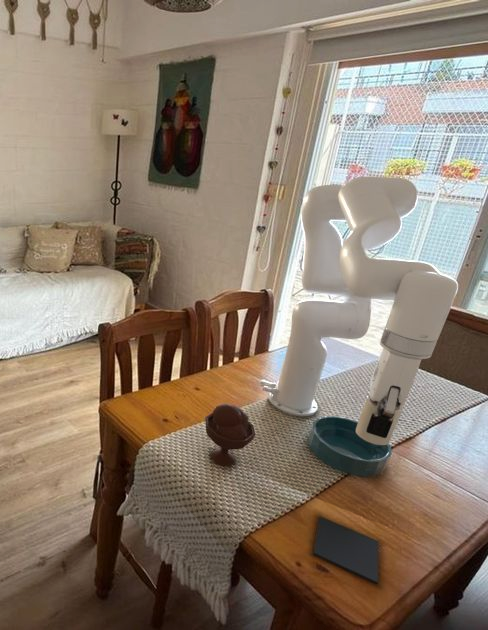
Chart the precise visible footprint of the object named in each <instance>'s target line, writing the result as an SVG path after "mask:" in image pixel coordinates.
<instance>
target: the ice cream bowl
mask: <svg viewBox="0 0 488 630" xmlns="http://www.w3.org/2000/svg"><path fill="white" fill-rule="evenodd" d="M204 420H205V432H206V435H207V437H208V438H209V439H210V440H211V441H212V442H213V443H214V444H215V445H216V446H217V447H219V448H215V449H213V451H211V453H210V458H211V460H212V461H213V462H214V463H215V464H216V465H218V466H221V467H232V466H233V465H234V464H236V462H235V461H236V460H235V456H234V455H233V453H231V451H232V450H233V451H234V450H235V451H237V450H241V449H244V448H245V447H246V446H248V445H249V444H250V443H251V442H252V441H253V440H254V439H255V437H256V430H255V426H254V424H253V423H252V422H250V421H249V415H248V414H247V413H246V412H245V411H244V410H243V409H241V408H240V407H239V406H236V405H233V404H229V403H221V404H219V405H217V406H216V407H215V408H214V409H213V411H212V412H211V413H210V414H208V415H206V416H205V418H204Z"/></svg>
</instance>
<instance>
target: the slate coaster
mask: <svg viewBox="0 0 488 630" xmlns="http://www.w3.org/2000/svg"><path fill="white" fill-rule="evenodd" d="M315 534H316V535H315V542H314V546H313V553H312V556H314V557H317V558H319V559H321V560H323V561H325V562H327V563H330V564H332V565H333V566H334V565H335V567H338V568H340V569H342V570H344V571H346V572H349V573H351V574H353V575H355V576H357V577H359V578H362V579H364V580H366V581H368V582H370V583H372V584H375V585H378V584H379V547H380V546H379V543H380V541H379V540H377V539H375V538H373V537H370V536H368V535H365V534H363V533H361V532H359V531H356V530H354V529H352V528H349V527H348V526H347V527H346V526H344V525H342V524H339V523H338V522H336V521H333V520H330V519H328V518H326V517H324V516H321V515H319V517H318V521H317V529H316V533H315Z"/></svg>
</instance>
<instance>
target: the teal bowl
mask: <svg viewBox="0 0 488 630" xmlns="http://www.w3.org/2000/svg"><path fill="white" fill-rule="evenodd" d="M357 424H358V421H357V420H353V419H350V418H347V417H341V416H336V415H334V416H333V415H332V416H331V415H329V416H321V417H318V418H317V419H315V420H314V421H313V422H312V425H311V429H310V432H309V435H308V439H307V443H308V446H309V449H310V450H311V452H312V453H313V454H314V455H315V456H316V457H317V458H318V459H319V460H320V461H322V463H325V464H326V465H328V466H330V467H331V468H333V469H334V470H337V471H340V472H342V473H345V474H348V475H351V476H357V477H362V478H373V477H377V476H379V475H382V474H383V472H384V471H385V470H386V469H387V466H388V464H389V461H390V459H391V456H392V447H391V445H390V443H389V444H387V445H376V444H373V443H370V442H367V441H365V440H364V439H362V438H361V437H359V436H358V435H357V433H356V427H357Z"/></svg>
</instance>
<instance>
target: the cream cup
mask: <svg viewBox="0 0 488 630" xmlns="http://www.w3.org/2000/svg"><path fill="white" fill-rule="evenodd" d="M382 401H386V402H387V399H386V398H383V399H382ZM377 403H378V401H372V400H371V398H370V394H369V395H368V396H367V397H366V399H365V401H364V403H363V404H364V405H363V408H362V410H361V413H360V416H359V419H358V421H357V422H358V424H357V427H356V433H357V435H358V436H359V437H361V438H362V439H364V440H365V441H367V442H370V443H373V444H376V445H387V444H389V445H390V443H391V440H392V438H393V436H394V433H395V431H396V428H397V425H398V423H399V421H400V418H401V415H402V414H403V411H404V406H403V407H401V408H398V407H397V408H396V412H395V415H394V418H393V423H392V425H391V428H390V430H389V433H388V435H387V437H386V438H382V437H379V436H376V435H373V434H370V433H367V431H366V429H367V426H368V424H369V421H370V418H371V416H372V413H373V414H374V413H375V410H376V407H377ZM385 406H386V405H381V409H382V408H383V409H384V408H385ZM381 409H380V410H381Z"/></svg>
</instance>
